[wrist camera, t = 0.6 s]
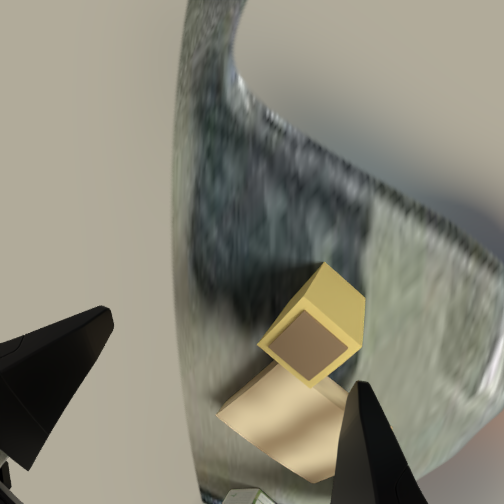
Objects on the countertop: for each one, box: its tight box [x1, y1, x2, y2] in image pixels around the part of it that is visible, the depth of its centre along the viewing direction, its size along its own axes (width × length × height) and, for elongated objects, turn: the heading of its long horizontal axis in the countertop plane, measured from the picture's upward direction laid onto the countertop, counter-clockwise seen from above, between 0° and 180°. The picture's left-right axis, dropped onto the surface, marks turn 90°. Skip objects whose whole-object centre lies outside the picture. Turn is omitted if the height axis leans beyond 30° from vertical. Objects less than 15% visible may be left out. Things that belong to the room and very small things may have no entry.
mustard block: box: [257, 262, 365, 389], centre depth 18 cm, size 4×4×7 cm
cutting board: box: [216, 360, 393, 484], centre depth 23 cm, size 13×10×2 cm
